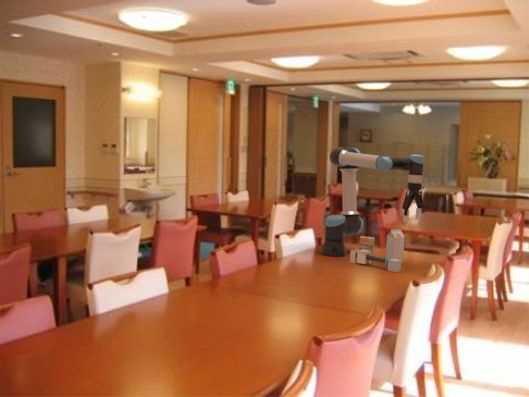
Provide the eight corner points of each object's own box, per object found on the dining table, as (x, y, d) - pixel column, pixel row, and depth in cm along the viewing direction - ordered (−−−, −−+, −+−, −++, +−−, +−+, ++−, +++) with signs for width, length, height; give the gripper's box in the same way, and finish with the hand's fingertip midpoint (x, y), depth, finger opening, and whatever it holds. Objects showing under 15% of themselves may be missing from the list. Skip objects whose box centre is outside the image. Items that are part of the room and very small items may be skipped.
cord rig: (350, 262, 321) (350, 250, 320) (355, 261, 324) (355, 249, 323) (395, 272, 300) (396, 259, 300) (400, 271, 304) (401, 258, 303)
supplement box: (358, 259, 332) (359, 236, 330) (359, 257, 336) (360, 235, 335) (372, 260, 329) (374, 238, 328) (373, 259, 334) (374, 237, 333)
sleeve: (356, 262, 317) (357, 250, 316) (363, 261, 321) (364, 249, 320) (364, 264, 313) (365, 252, 312) (370, 262, 318) (371, 250, 317)
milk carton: (385, 260, 330) (387, 228, 329) (395, 260, 334) (397, 228, 332) (392, 263, 324) (395, 230, 322) (402, 262, 327) (405, 230, 325)
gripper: (410, 183, 302) (406, 223, 304) (431, 182, 320) (428, 219, 323) (397, 182, 307) (394, 221, 309) (419, 181, 325) (416, 218, 328)
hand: (411, 220), depth 316 cm, fingers open, 13 cm apart
